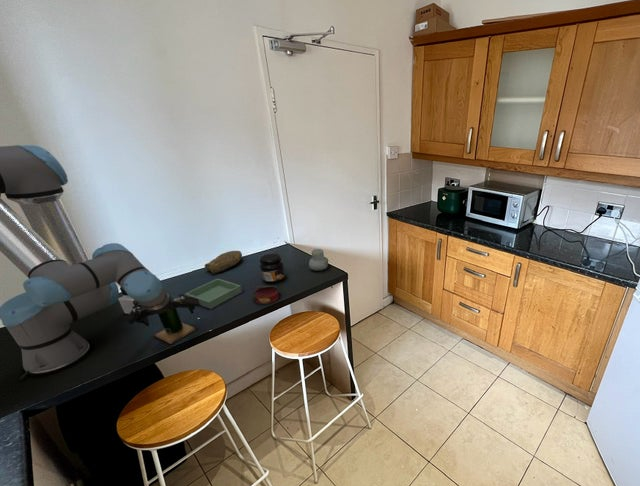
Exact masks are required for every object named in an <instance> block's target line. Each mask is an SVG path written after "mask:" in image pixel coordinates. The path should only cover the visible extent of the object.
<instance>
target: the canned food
mask: <svg viewBox="0 0 640 486" xmlns="http://www.w3.org/2000/svg"><path fill="white" fill-rule="evenodd" d="M251 289H252V290H255V291H254V292H253V296H254V301H255V302H256V303H257V304H261V305H266V304H271V303H274V302H276V301H277V300H278V299H279V298H280V293H279V288H277V285H265V284H264V285H263V284H262V285H254V286H253V287H252V288H251Z"/></svg>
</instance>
